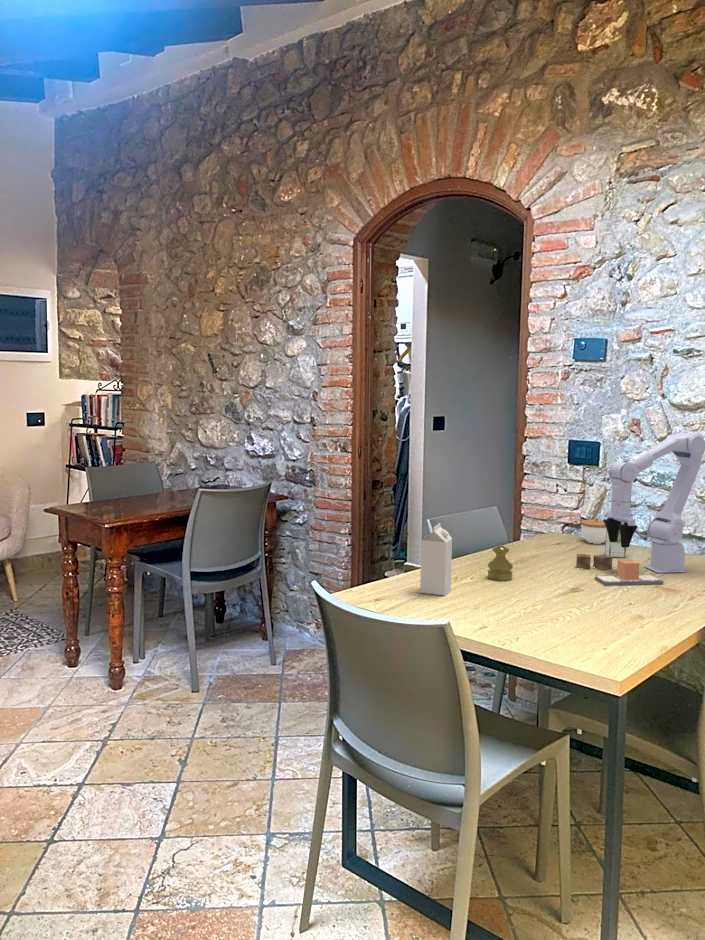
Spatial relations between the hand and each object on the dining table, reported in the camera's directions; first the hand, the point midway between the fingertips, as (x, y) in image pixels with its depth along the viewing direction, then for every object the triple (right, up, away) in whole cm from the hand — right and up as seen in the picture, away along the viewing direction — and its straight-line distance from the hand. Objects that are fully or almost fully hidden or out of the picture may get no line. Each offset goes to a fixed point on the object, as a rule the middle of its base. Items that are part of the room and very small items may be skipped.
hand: (619, 544), depth 236 cm
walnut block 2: (-2, -9, +8) cm, 12 cm away
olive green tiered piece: (-38, -10, -5) cm, 39 cm away
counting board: (0, -10, -8) cm, 13 cm away
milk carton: (-59, -11, -21) cm, 63 cm away
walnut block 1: (-8, -8, +9) cm, 15 cm away
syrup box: (+8, -7, +26) cm, 28 cm away
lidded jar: (+8, -4, +48) cm, 49 cm away
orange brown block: (0, -9, -8) cm, 12 cm away
